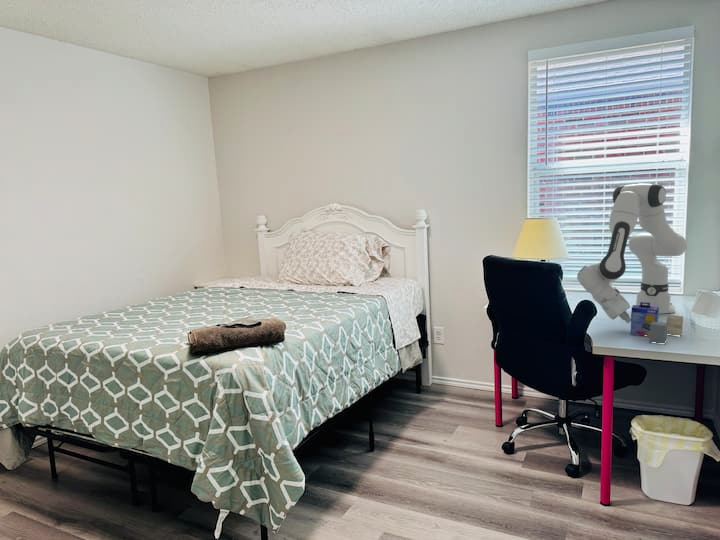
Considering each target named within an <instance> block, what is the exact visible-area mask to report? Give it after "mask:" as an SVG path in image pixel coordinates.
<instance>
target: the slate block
mask: <svg viewBox="0 0 720 540" xmlns="http://www.w3.org/2000/svg"><path fill="white" fill-rule="evenodd" d="M667 337H668V336H667V322H662V321H658V322H656V321H653V322H652V323H651V326H650V337H649V343H650V342H656V343H665V341H666V340H668V339H667ZM666 342H667V341H666ZM665 344H666V343H665Z"/></svg>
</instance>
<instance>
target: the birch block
mask: <svg viewBox="0 0 720 540" xmlns="http://www.w3.org/2000/svg"><path fill="white" fill-rule="evenodd" d="M683 322H684V316H683V315H676V314H669V315H668V316H666V323H667V334H671V335H681V334H682V335H683V325H684V323H683ZM682 335H681V336H682Z"/></svg>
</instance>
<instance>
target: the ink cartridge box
mask: <svg viewBox="0 0 720 540" xmlns="http://www.w3.org/2000/svg"><path fill="white" fill-rule="evenodd" d="M642 304H648V305H642ZM659 315H660V314H659V307H652V306H650V303H645V302H640V305H636V304H633V305H632V307H631V313H630V317H631V321H630V333H631V334H639V335H647V336H650V326H651V323H652V322H653V321H656V322H659ZM630 333H629V334H630ZM631 334H630V335H631ZM639 335H638V336H639ZM647 336H646V337H647Z"/></svg>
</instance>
